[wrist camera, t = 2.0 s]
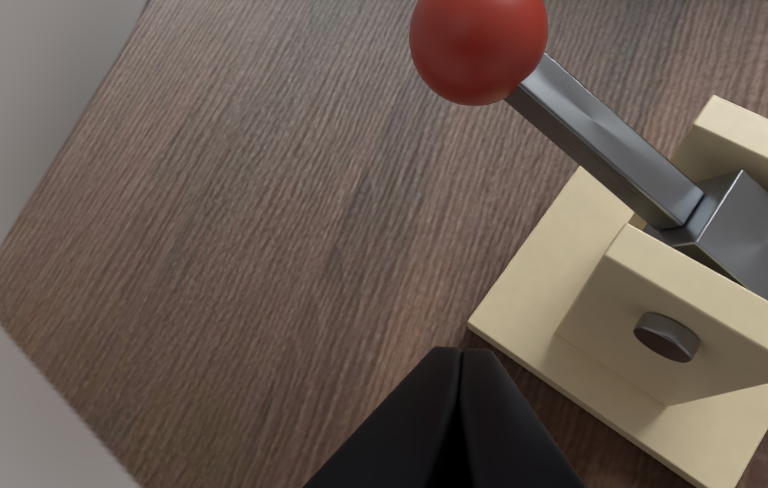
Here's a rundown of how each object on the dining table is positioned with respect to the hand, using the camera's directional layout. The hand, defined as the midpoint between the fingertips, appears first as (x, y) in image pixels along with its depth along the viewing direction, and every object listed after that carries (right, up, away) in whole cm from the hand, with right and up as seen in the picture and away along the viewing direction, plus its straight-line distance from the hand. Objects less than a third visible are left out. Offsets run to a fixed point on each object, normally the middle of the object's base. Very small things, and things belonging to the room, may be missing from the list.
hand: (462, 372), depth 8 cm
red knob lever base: (+8, -1, +13) cm, 15 cm away
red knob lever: (+4, +4, +7) cm, 9 cm away
